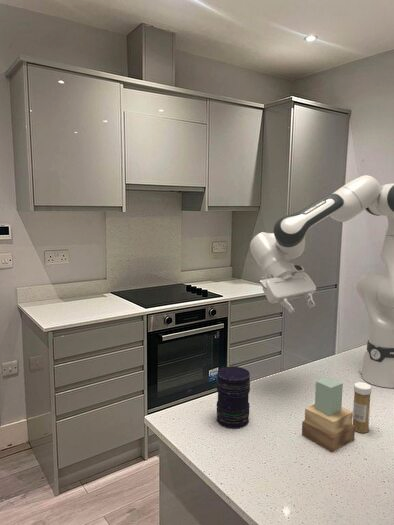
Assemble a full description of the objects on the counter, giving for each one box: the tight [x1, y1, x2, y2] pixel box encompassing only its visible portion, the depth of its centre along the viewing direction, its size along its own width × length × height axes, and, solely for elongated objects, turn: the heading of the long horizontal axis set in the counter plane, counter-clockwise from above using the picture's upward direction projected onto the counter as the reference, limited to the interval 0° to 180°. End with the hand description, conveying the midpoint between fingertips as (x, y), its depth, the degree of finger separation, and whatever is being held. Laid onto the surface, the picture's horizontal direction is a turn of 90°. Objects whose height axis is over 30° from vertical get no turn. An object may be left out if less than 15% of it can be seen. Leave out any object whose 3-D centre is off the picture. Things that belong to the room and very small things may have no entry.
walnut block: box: [301, 419, 356, 453], centre depth 113 cm, size 10×10×4 cm
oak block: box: [304, 403, 353, 436], centre depth 112 cm, size 9×9×4 cm
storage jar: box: [216, 366, 251, 430], centre depth 121 cm, size 10×10×15 cm
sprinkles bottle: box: [352, 381, 372, 434], centre depth 116 cm, size 5×5×13 cm
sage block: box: [314, 376, 344, 416], centre depth 111 cm, size 5×5×8 cm
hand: (302, 308), depth 128 cm, fingers open, 8 cm apart
